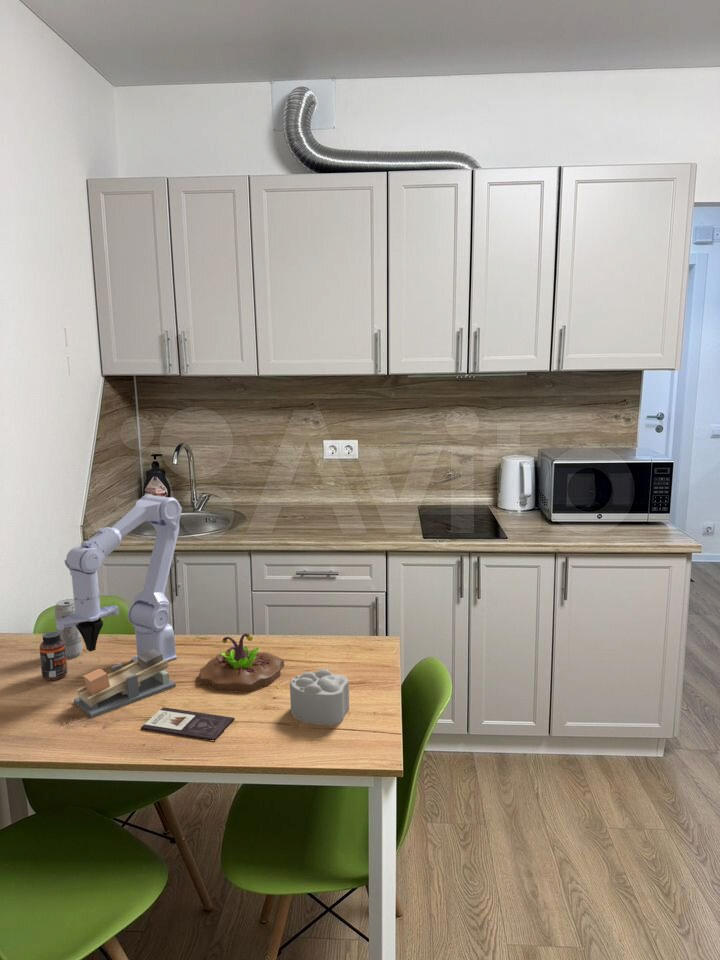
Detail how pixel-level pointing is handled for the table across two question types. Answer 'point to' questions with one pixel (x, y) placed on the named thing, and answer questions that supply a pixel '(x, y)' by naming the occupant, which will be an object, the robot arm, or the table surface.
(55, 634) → the supplement bottle
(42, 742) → the table surface
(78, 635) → the energy drink can
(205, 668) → the plant
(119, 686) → the beam
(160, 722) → the chocolate bar
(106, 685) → the block
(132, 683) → the stand
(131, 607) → the robot arm
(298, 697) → the lumpy-topped squat cylinder
